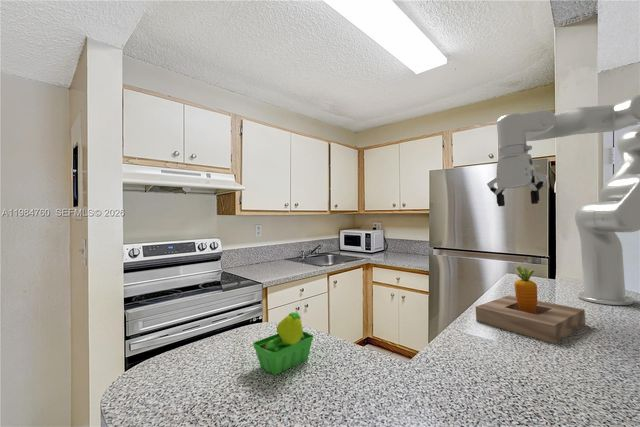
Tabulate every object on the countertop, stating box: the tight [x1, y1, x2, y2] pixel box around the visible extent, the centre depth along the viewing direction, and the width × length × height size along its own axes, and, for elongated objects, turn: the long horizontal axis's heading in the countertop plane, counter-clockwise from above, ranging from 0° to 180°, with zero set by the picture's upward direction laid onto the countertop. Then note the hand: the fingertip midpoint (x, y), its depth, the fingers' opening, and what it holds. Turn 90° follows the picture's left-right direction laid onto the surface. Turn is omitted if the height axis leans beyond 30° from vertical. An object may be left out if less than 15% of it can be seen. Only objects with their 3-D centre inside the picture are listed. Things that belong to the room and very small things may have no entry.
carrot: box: [514, 265, 538, 314], centre depth 77 cm, size 5×5×15 cm
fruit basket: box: [252, 311, 314, 376], centre depth 61 cm, size 11×9×11 cm
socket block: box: [474, 294, 586, 344], centre depth 76 cm, size 18×18×4 cm
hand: (517, 205), depth 93 cm, fingers open, 9 cm apart
